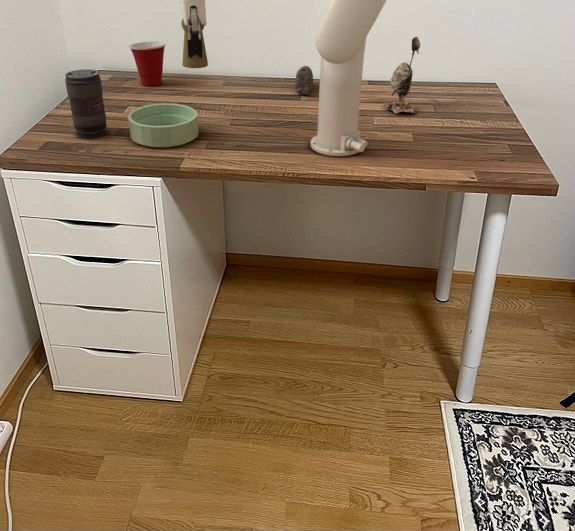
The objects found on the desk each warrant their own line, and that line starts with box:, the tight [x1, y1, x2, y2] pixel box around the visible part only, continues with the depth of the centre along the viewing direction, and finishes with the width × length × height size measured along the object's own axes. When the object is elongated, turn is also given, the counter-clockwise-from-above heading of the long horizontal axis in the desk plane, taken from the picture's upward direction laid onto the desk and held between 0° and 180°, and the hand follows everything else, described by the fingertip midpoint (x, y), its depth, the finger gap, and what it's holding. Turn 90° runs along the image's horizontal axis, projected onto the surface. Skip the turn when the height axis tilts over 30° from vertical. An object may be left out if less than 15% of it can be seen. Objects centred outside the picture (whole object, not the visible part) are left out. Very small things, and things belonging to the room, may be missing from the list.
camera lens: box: [64, 68, 107, 140], centre depth 151 cm, size 8×8×15 cm
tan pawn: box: [180, 18, 209, 69], centre depth 144 cm, size 6×6×11 cm
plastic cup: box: [128, 40, 167, 88], centre depth 186 cm, size 11×11×12 cm
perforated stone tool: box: [294, 65, 314, 96], centre depth 185 cm, size 15×5×7 cm, turn 174°
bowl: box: [127, 103, 200, 148], centre depth 153 cm, size 17×17×6 cm
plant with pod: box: [383, 36, 421, 114], centre depth 168 cm, size 8×11×20 cm
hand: (194, 54), depth 145 cm, fingers closed on tan pawn, 3 cm apart
